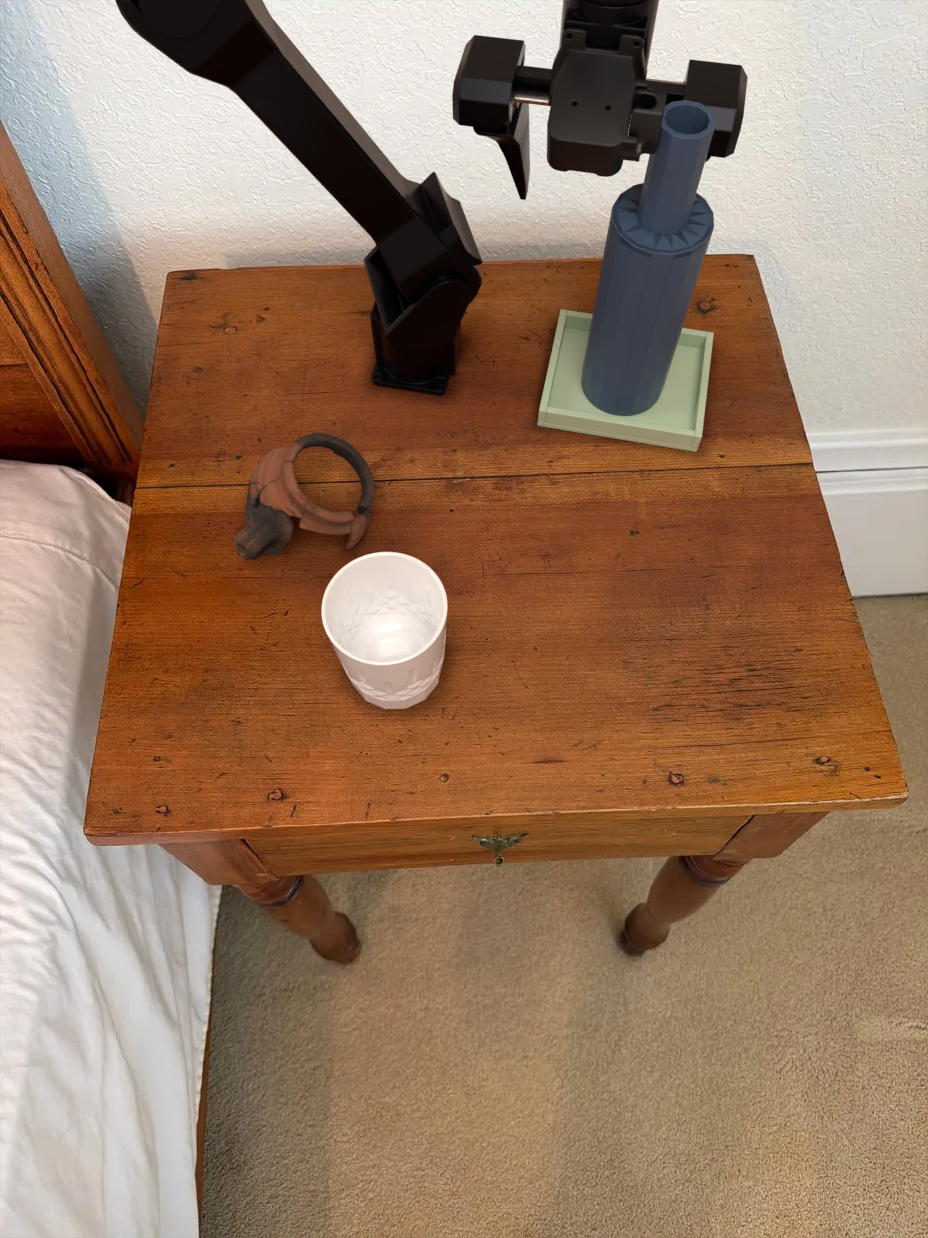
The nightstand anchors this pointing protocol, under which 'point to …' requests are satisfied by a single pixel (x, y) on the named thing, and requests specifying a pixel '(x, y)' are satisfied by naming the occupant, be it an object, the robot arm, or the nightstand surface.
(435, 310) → the robot arm
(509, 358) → the nightstand surface
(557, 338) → the tray
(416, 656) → the white cup
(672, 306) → the carafe
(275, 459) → the brown grey sculpted ring
